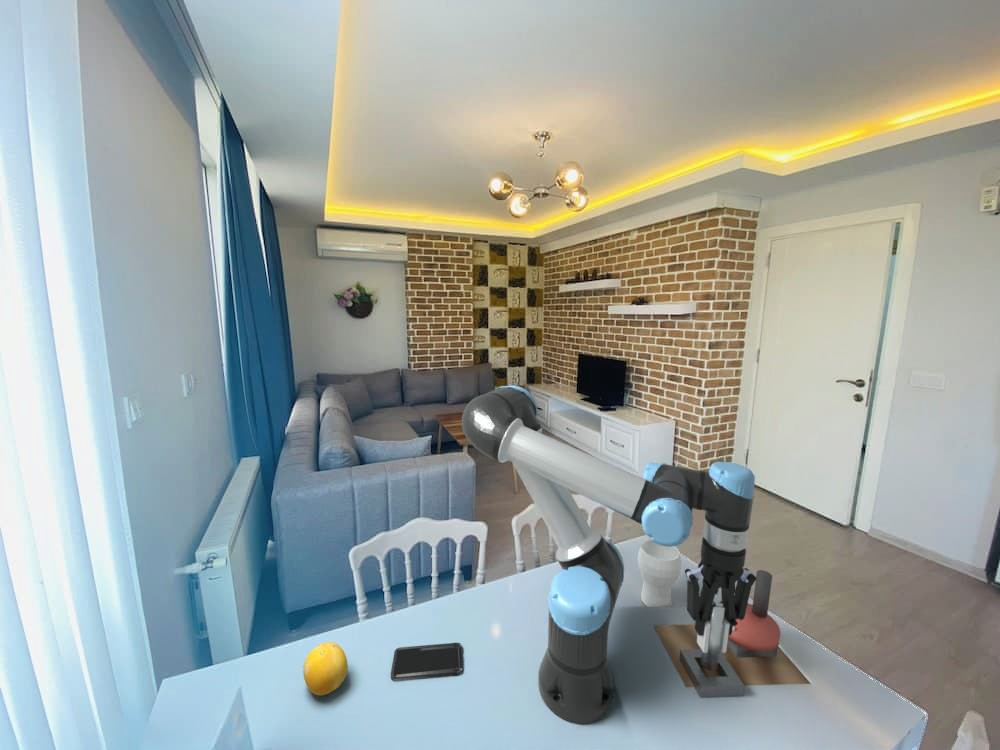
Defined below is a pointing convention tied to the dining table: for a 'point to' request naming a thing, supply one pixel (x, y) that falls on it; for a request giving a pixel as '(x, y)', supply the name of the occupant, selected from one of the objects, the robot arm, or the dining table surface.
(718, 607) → the hook peg
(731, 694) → the eye
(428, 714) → the dining table surface
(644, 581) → the cup
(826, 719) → the dining table surface
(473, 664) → the dining table surface
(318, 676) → the fruit
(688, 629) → the board
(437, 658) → the phone
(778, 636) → the handwheel
